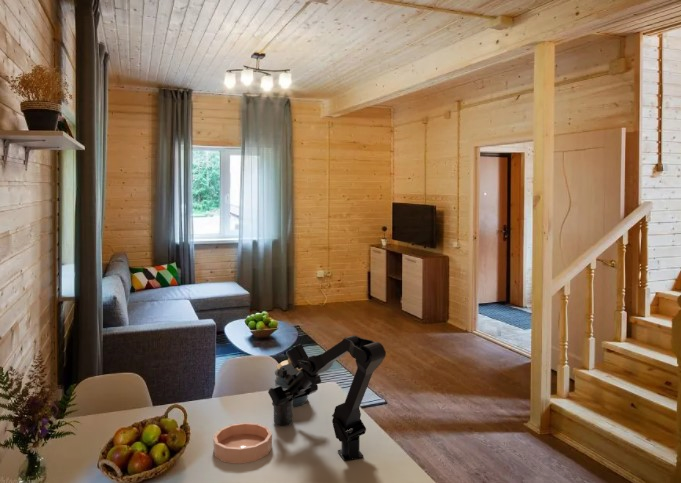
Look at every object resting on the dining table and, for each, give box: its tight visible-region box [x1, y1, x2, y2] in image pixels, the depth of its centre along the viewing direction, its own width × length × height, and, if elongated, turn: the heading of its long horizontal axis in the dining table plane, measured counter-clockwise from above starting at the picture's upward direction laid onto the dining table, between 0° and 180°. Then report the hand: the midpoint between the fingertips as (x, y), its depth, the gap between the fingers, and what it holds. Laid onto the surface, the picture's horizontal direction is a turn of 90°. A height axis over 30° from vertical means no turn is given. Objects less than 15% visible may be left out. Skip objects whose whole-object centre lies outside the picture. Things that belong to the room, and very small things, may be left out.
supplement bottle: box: [273, 388, 294, 427], centre depth 191 cm, size 7×7×12 cm
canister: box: [274, 358, 309, 407], centre depth 210 cm, size 13×13×18 cm
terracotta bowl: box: [212, 422, 273, 464], centre depth 172 cm, size 18×18×4 cm
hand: (283, 401), depth 191 cm, fingers open, 9 cm apart
